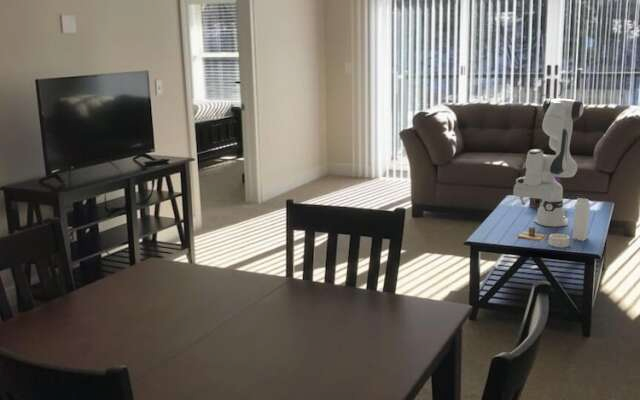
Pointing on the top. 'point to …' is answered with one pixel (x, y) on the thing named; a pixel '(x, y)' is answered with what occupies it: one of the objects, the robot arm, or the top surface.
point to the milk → (581, 219)
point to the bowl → (559, 240)
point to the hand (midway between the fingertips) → (532, 205)
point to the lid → (531, 235)
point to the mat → (534, 240)
